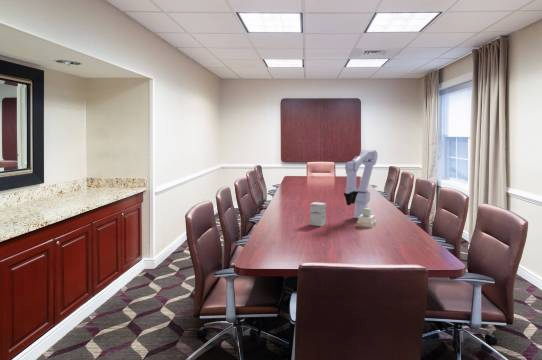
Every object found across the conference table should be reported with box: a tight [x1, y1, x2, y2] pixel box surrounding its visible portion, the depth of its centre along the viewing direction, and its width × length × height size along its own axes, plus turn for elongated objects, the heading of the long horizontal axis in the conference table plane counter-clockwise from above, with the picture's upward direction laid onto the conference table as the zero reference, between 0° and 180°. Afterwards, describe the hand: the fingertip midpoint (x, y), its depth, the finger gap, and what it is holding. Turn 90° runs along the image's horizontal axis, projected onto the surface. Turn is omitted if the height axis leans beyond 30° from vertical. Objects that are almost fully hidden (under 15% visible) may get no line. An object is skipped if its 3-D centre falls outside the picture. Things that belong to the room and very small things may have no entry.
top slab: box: [357, 214, 376, 223], centre depth 224 cm, size 8×8×3 cm
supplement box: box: [309, 201, 327, 227], centre depth 225 cm, size 7×7×13 cm
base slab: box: [356, 219, 377, 229], centre depth 224 cm, size 9×9×3 cm
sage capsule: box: [362, 207, 372, 216], centre depth 224 cm, size 4×4×4 cm
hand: (350, 204), depth 233 cm, fingers open, 7 cm apart
